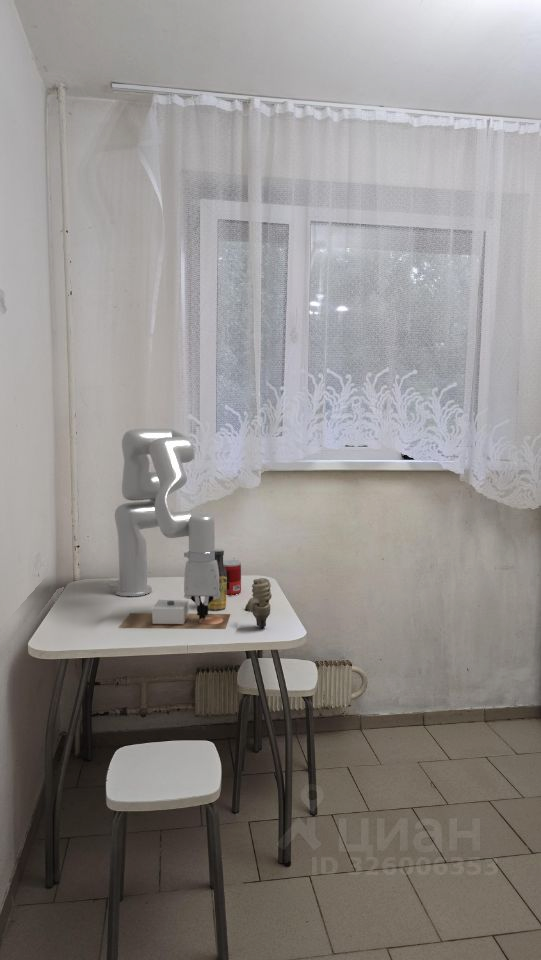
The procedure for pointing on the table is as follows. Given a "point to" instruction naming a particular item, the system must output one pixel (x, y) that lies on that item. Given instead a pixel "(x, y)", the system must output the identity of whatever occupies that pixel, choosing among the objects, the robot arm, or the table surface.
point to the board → (190, 623)
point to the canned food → (233, 576)
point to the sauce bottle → (220, 602)
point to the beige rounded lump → (254, 600)
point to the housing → (170, 612)
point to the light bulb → (261, 601)
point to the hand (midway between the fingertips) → (202, 617)
